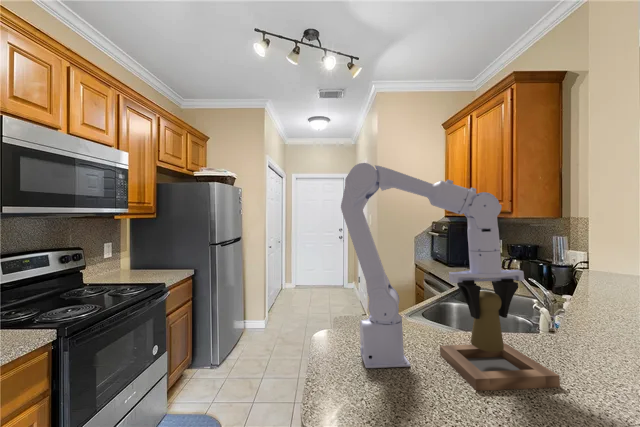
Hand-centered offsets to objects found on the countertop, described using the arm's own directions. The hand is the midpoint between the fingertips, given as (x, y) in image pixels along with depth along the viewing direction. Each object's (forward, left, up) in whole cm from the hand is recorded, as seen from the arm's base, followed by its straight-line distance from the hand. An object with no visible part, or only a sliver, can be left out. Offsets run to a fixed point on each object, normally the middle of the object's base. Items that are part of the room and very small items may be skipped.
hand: (488, 317), depth 59 cm
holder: (0, 0, -10) cm, 10 cm away
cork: (0, +1, -6) cm, 6 cm away
